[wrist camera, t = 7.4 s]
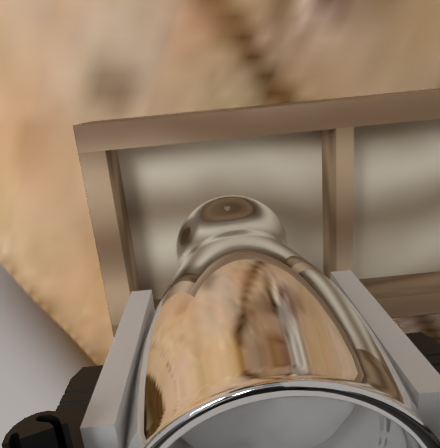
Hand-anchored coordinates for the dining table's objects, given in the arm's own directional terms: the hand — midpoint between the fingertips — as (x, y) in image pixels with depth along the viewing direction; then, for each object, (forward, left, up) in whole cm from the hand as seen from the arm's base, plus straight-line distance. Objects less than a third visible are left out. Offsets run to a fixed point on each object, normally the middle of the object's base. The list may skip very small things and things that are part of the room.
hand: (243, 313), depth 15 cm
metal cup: (0, 0, -7) cm, 7 cm away
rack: (0, +7, -14) cm, 15 cm away
